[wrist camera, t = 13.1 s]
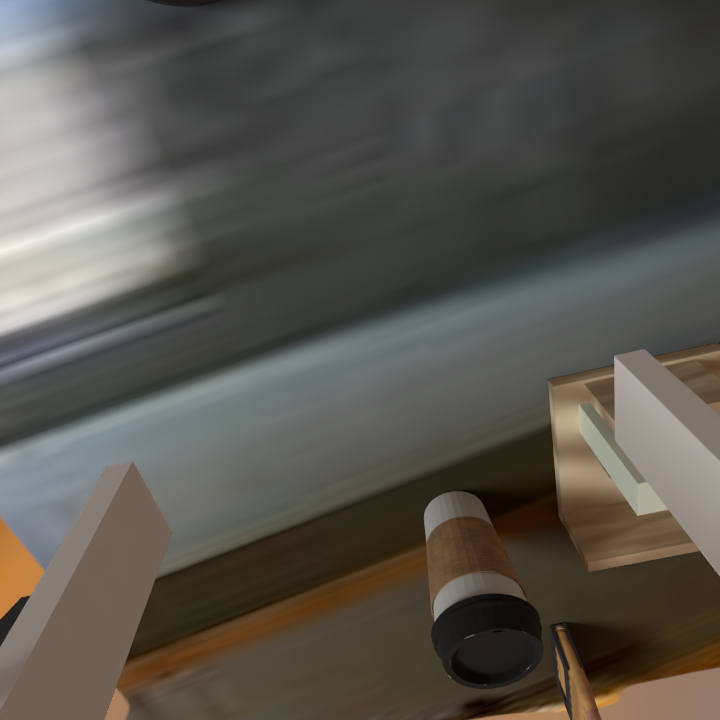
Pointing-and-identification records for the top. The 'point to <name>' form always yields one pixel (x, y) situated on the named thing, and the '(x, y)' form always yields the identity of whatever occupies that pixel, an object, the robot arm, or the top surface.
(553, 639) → the ammunition clip
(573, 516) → the wooden shelf with pegs
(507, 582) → the coffee cup
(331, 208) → the top surface
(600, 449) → the beige rectangular block
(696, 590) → the top surface
